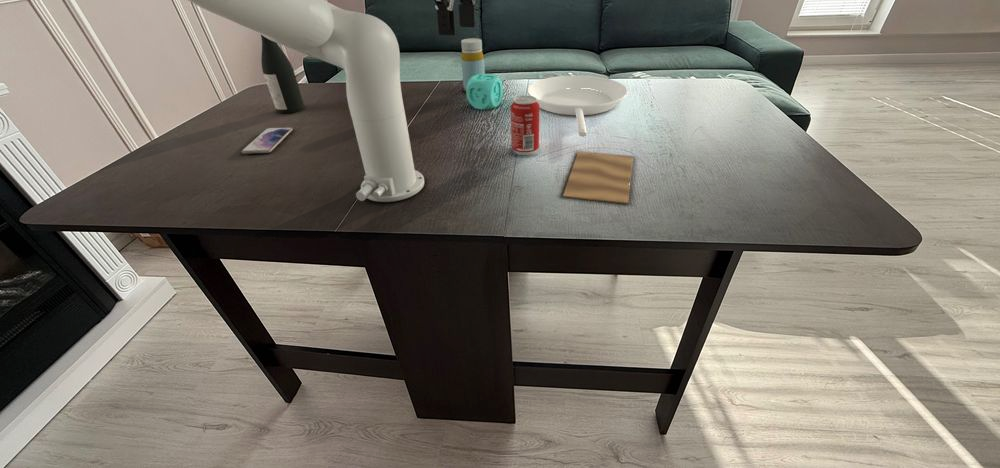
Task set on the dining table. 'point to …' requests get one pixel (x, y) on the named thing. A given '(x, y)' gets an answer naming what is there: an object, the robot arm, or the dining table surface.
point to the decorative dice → (484, 91)
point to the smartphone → (267, 140)
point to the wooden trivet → (600, 177)
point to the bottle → (471, 59)
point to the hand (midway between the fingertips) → (458, 30)
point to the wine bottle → (280, 78)
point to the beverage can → (525, 125)
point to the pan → (577, 96)
